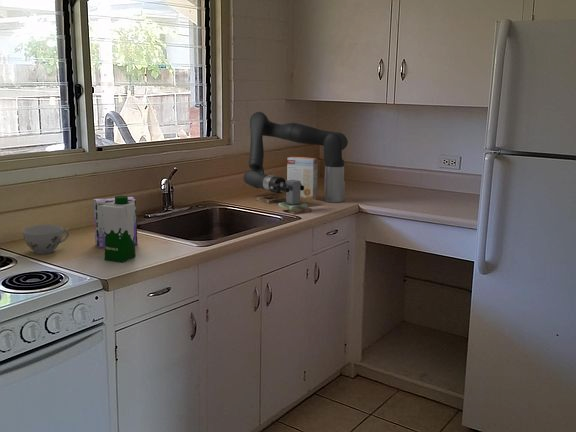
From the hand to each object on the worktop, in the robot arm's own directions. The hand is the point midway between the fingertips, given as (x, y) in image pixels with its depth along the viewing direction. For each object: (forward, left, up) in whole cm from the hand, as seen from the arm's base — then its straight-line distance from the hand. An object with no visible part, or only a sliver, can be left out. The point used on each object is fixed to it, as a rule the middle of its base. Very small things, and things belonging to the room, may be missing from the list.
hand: (296, 189), depth 273 cm
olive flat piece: (0, -10, -10) cm, 14 cm away
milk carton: (+94, +26, -10) cm, 98 cm away
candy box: (+88, +9, -10) cm, 89 cm away
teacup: (+110, +4, -10) cm, 111 cm away
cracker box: (-19, -19, -10) cm, 29 cm away
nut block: (0, -2, -8) cm, 9 cm away
